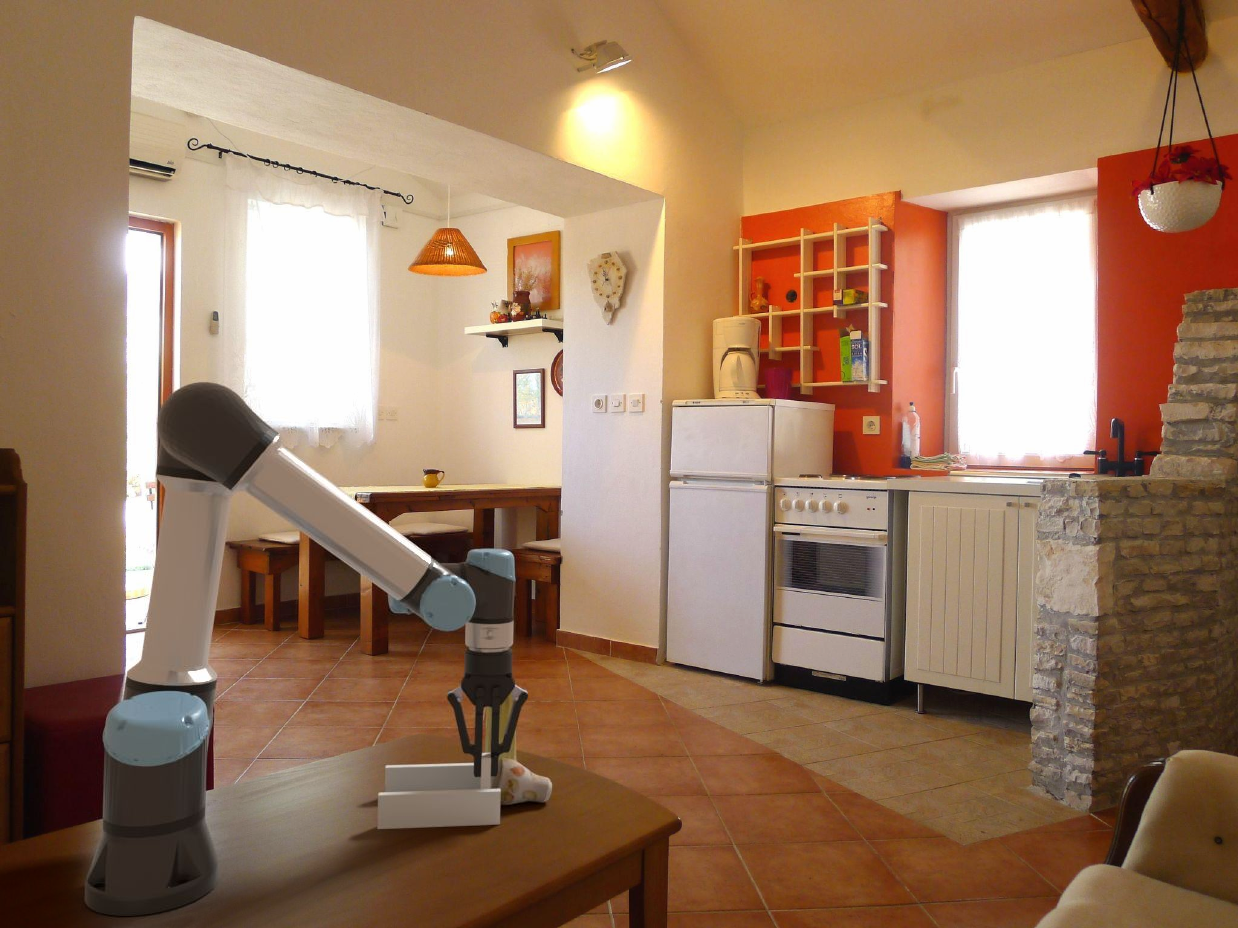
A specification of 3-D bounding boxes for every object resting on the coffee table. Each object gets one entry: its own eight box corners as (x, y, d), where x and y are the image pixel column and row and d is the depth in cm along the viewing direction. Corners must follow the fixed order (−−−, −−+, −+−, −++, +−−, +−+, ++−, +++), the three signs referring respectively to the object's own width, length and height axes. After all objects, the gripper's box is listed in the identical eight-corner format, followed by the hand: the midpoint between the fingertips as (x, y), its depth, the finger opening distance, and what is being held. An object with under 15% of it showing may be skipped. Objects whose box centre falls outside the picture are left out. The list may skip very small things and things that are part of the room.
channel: (377, 828, 137) (378, 795, 137) (385, 795, 151) (386, 765, 151) (499, 824, 140) (500, 791, 140) (496, 792, 154) (497, 762, 154)
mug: (559, 809, 147) (533, 760, 145) (504, 835, 147) (476, 786, 145) (557, 782, 155) (531, 734, 152) (504, 806, 155) (477, 759, 152)
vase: (478, 768, 165) (480, 688, 165) (488, 757, 171) (490, 680, 171) (511, 771, 164) (513, 690, 164) (520, 760, 170) (522, 682, 170)
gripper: (446, 652, 142) (442, 806, 142) (531, 651, 144) (527, 803, 144) (447, 642, 149) (443, 789, 149) (528, 642, 151) (524, 786, 151)
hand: (485, 796), depth 147 cm, fingers closed
